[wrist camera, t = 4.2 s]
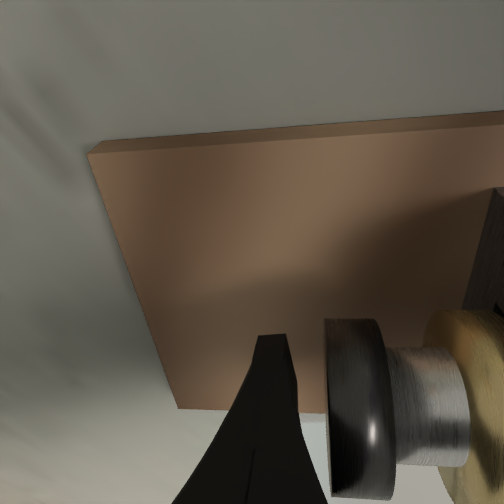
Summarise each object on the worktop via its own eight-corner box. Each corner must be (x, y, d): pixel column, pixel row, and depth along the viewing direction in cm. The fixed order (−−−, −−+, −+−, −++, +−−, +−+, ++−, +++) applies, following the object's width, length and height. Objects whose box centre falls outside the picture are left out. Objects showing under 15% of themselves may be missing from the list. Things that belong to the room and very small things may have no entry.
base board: (819, 87, 8) (875, 98, 7) (608, 398, 14) (626, 423, 14) (102, 141, 11) (85, 153, 10) (184, 387, 17) (178, 408, 16)
